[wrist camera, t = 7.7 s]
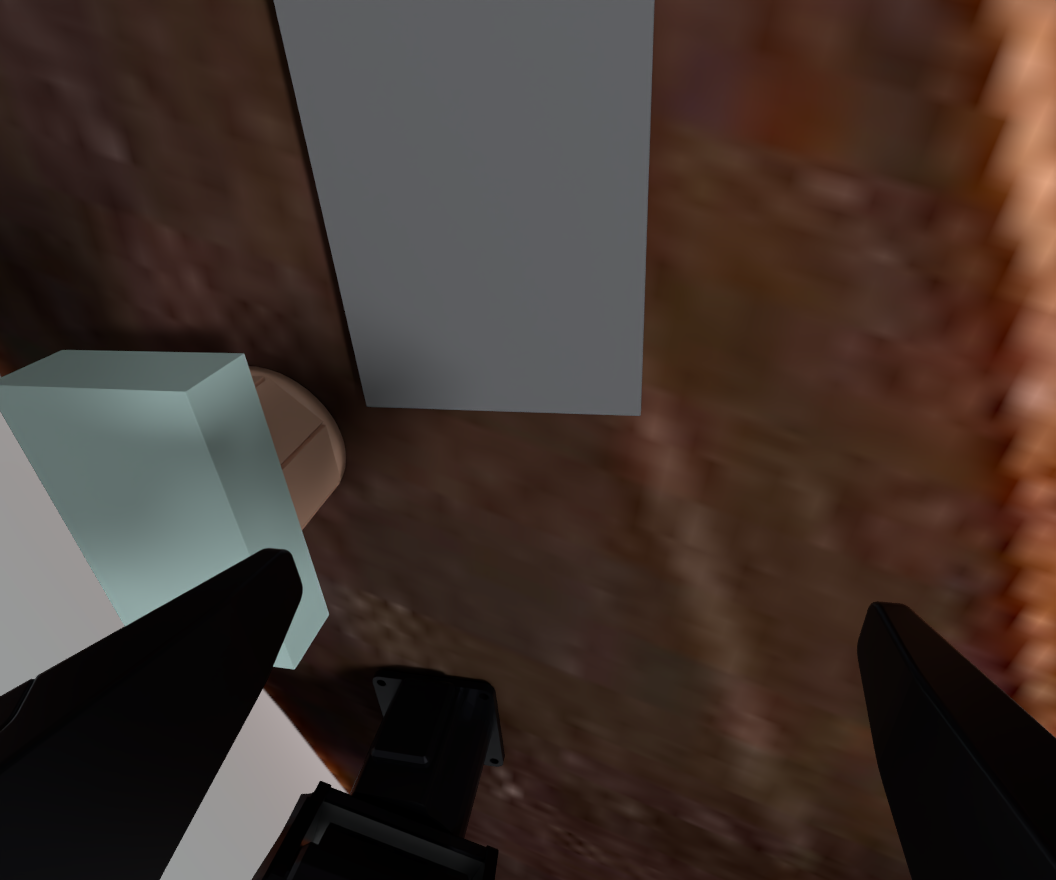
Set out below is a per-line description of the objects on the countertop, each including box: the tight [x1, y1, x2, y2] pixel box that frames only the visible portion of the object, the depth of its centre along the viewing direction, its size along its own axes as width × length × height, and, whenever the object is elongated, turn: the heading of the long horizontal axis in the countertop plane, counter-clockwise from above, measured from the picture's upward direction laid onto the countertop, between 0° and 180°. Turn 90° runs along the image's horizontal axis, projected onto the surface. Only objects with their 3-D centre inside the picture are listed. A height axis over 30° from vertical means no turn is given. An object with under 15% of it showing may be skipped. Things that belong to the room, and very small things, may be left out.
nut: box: [248, 366, 346, 530], centre depth 23 cm, size 7×7×4 cm
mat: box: [274, 0, 654, 416], centre depth 18 cm, size 14×10×1 cm
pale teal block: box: [0, 350, 329, 669], centre depth 20 cm, size 11×7×3 cm, turn 4°
